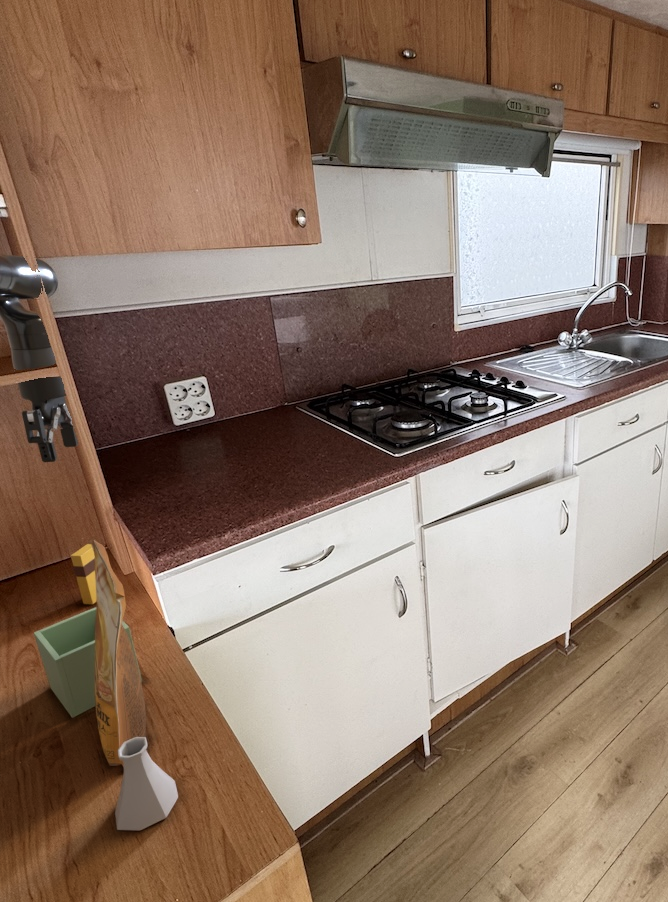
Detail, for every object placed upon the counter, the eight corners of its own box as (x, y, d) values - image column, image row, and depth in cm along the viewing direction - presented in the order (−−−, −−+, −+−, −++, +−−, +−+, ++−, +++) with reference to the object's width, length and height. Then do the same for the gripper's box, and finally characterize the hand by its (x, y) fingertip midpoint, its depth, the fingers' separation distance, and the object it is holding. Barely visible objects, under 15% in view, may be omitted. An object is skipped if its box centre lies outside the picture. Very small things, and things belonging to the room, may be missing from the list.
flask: (183, 775, 79) (171, 718, 76) (173, 823, 72) (158, 763, 69) (123, 789, 77) (107, 731, 73) (106, 840, 70) (88, 779, 67)
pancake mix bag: (150, 680, 95) (115, 529, 86) (163, 763, 81) (123, 592, 71) (101, 697, 92) (60, 541, 82) (105, 787, 77) (55, 610, 68)
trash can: (72, 718, 88) (55, 660, 84) (50, 687, 94) (33, 632, 90) (142, 681, 95) (129, 627, 92) (118, 655, 101) (105, 603, 97)
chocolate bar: (82, 604, 114) (69, 555, 111) (99, 590, 119) (87, 543, 115) (93, 604, 114) (80, 556, 111) (109, 591, 119) (97, 544, 115)
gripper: (38, 364, 112) (57, 442, 117) (-6, 380, 99) (18, 468, 104) (81, 363, 114) (98, 441, 119) (44, 379, 101) (65, 465, 106)
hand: (61, 453), depth 112 cm, fingers open, 8 cm apart
